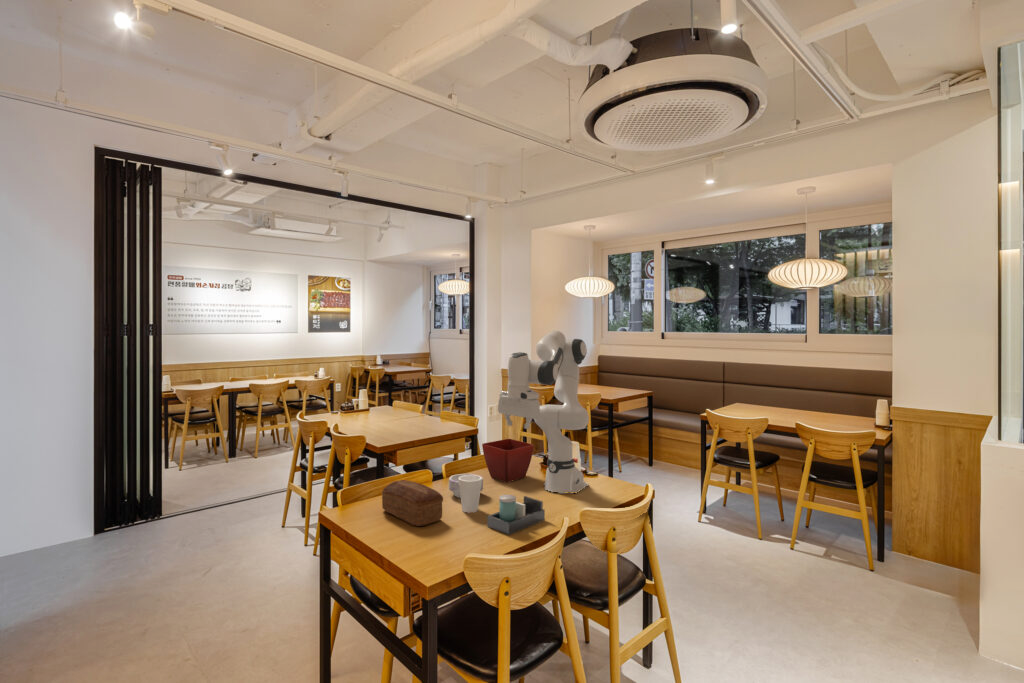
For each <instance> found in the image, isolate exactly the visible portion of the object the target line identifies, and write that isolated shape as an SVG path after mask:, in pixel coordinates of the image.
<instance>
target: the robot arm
mask: <svg viewBox="0 0 1024 683" xmlns="http://www.w3.org/2000/svg"><path fill="white" fill-rule="evenodd" d="M587 350H588V349H587V345H586V343H585V341H584V340H583V339H579V338H574V339H566V336H565V334H564V333H563V332H562V331H559V330H552V331H549V332H548V333H546V334H545V335H544V336H542V338H540V340H538V342H537V344H536V346H535V351H536V352H535V353H536V355H537V356H538V358H539V359H540V360H535V359H534V360H533V359H532V360H530V358H529V355H528V353H527V352H521V351H519V352H514V353H512V354H509V357H508V363H507V377H508V381H507V391H505V390H504V391H503V390H502V391H501V392H500V393H499V399H498V404H497V412H498V413H499V414H502V415H504V418H505V420H506V426H510V427H511V426H512V425H513V421H512V420H511V416H513V417H521V418H525V421H526V422H525V423H524V424H523V429H525V430H529V429H530V424H531V423H532V421H534V422H535V424H536V426H538V427H539V428H540V429H541V430H542V431H543V433H544V435H545V437H546V440H547V443H548V444H547V446H548V457H547V466H548V467H547V468H546V472H545V473H546V474H545V481H544V482H543V486H544V485H545V486H544V490H545V491H547V490H548V491H547V492H549V491H551V492H550V493H553V492H559V493H558V494H566V493H565V492H578V491H579V490H581V489H583V488H584V489H586V488H587V487H586V486H588V485H589V483H588V482H586V481H584V473H583V472H582V471H581V470H579V468H577V467H576V464H577V463H578V462H579V459H578V458H575V457H573V452H574V451H573V450H574V449H573V448H574V447H573V442H572V441H571V439H570V438H569V437H567V436H566V435H564V434H563V433H562V431H561V430H570V431H571V430H572V431H578V430H579V431H580V430H584V429H585V428H586V427H587V426H588V424H589V421H590V416H589V412H588V410H587V409H586V408H585V407H583V406H582V405H581V403H580V401H579V399H578V393H579V392H578V391H579V390H578V389H579V383H580V382H579V381H580V367H579V366H580V365H581V364H582V363H583V361H584V360H585V358H586V356H587V353H588V352H587ZM554 383H555V384H554ZM530 384H536V385H537V384H538V385H543V386H544V385H546V386H551V385H553V384H554V388H553V395H554V397H555V398H556V400H558V401H559V402H561V403H563V404H562V405H561V404H548V403H547V404H540V401H539V398H540V393H538V392H536V391H535V390H533V389H532V388H530ZM575 463H576V464H575ZM589 486H590V485H589ZM589 486H588V487H589ZM585 487H586V488H585ZM584 489H583V490H584ZM581 491H582V490H581ZM578 493H579V492H578Z"/></svg>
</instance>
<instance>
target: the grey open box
mask: <svg viewBox="0 0 1024 683" xmlns="http://www.w3.org/2000/svg"><path fill="white" fill-rule="evenodd" d="M521 503H522V502H521ZM522 504H525V516H524V517H521V518H519V519H516V520H514V521H511V522H506V521H504V520H501V519H499V511H497V512H494V513H492V514H489V515H487V516H486V517H487V521H486V523H487V524H486V526H487V527H488V528H490V529H493V530H495V531H498V532H500V533H503V534H504V535H507V536H510V535H513V534H514V533H518V532H520V531H521V530H524V529H526V528H529V527H532V526H534V525H536V524H539V523H542V522H544V521H545V520H546V518H545V516H546V515H545V513H546V512H545V509H543V506H544V502H543V501H542V500H539V499H537V498H536V499H535V498H533V497H529V496H527V495H525V496H523V503H522ZM543 520H544V521H543Z"/></svg>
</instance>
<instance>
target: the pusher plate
mask: <svg viewBox="0 0 1024 683" xmlns="http://www.w3.org/2000/svg"><path fill="white" fill-rule="evenodd" d="M524 516H525V504H522V502H519V501H516V518H515V520H516V519H519V518H521V517H524Z"/></svg>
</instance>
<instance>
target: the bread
mask: <svg viewBox="0 0 1024 683" xmlns="http://www.w3.org/2000/svg"><path fill="white" fill-rule="evenodd" d="M381 501H382V503H381V504H382V509H383V510H384V511H385V512H386V513H388V514H390V515H393V516H394V517H396V518H398V519H400V520H402V521H404V522H407V523H409V524H410V525H412V526H415V527H422V526H427V525H431V524H434V523H436V522H438V521H440V520H441V519H442V518H443V502H444V498H443V495H442V494H441V493H440V492H439V491H437V490H435V489H433V488H432V487H429V486H427V485H426V484H425V485H424V484H422V483H419V482H415V481H412V480H405V479H404V480H402V479H401V480H396V481H392V482H391V483H389V484H388V485H386V486H385V487H384V488H383V490H382V491H381Z"/></svg>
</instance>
